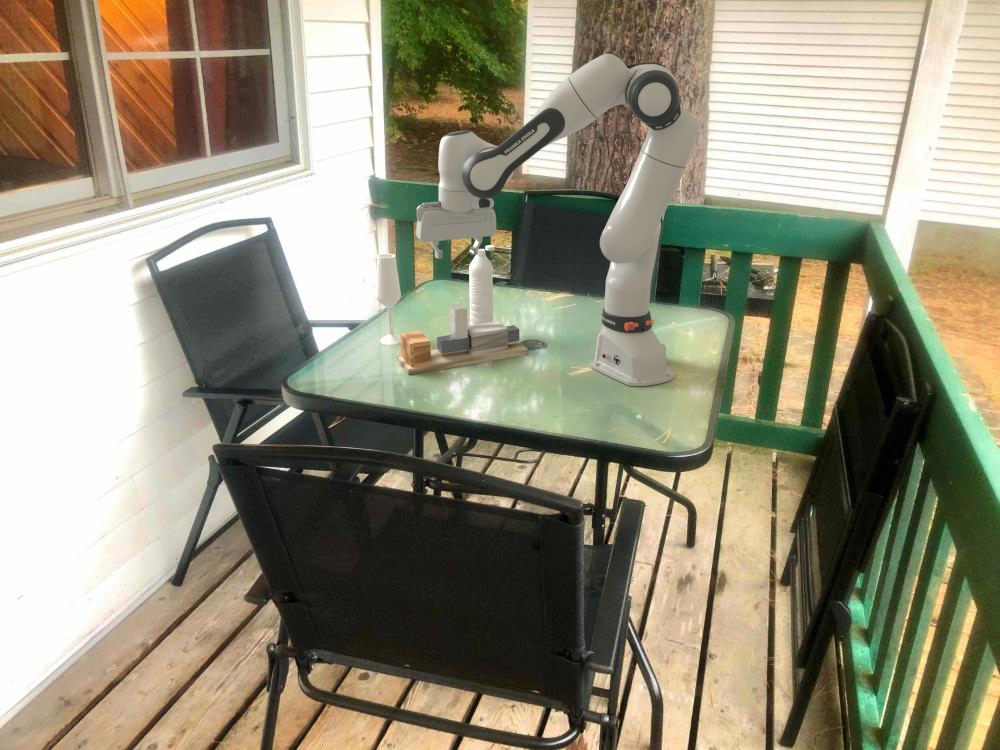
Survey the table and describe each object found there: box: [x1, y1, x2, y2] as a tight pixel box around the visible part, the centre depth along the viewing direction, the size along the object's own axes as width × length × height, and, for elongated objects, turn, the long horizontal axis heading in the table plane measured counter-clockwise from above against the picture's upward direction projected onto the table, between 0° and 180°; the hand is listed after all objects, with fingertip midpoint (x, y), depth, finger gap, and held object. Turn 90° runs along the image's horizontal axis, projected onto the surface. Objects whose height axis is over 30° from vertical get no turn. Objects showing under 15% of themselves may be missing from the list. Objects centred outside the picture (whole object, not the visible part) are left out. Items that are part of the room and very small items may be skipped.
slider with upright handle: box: [436, 303, 520, 354], centre depth 200 cm, size 4×22×11 cm, turn 114°
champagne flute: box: [375, 253, 402, 346], centre depth 209 cm, size 7×7×24 cm
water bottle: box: [468, 244, 495, 326], centre depth 212 cm, size 9×6×25 cm
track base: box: [396, 321, 529, 375], centre depth 201 cm, size 10×33×8 cm, turn 114°
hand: (456, 256), depth 192 cm, fingers open, 8 cm apart
